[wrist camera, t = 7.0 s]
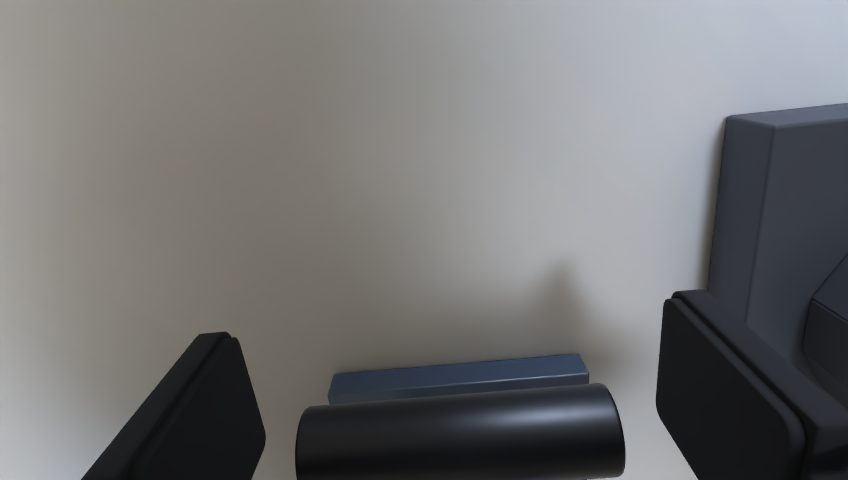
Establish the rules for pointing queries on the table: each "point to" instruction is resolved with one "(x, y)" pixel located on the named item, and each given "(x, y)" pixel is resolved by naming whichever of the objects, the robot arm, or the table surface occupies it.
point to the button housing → (788, 237)
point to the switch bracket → (458, 379)
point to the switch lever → (466, 437)
